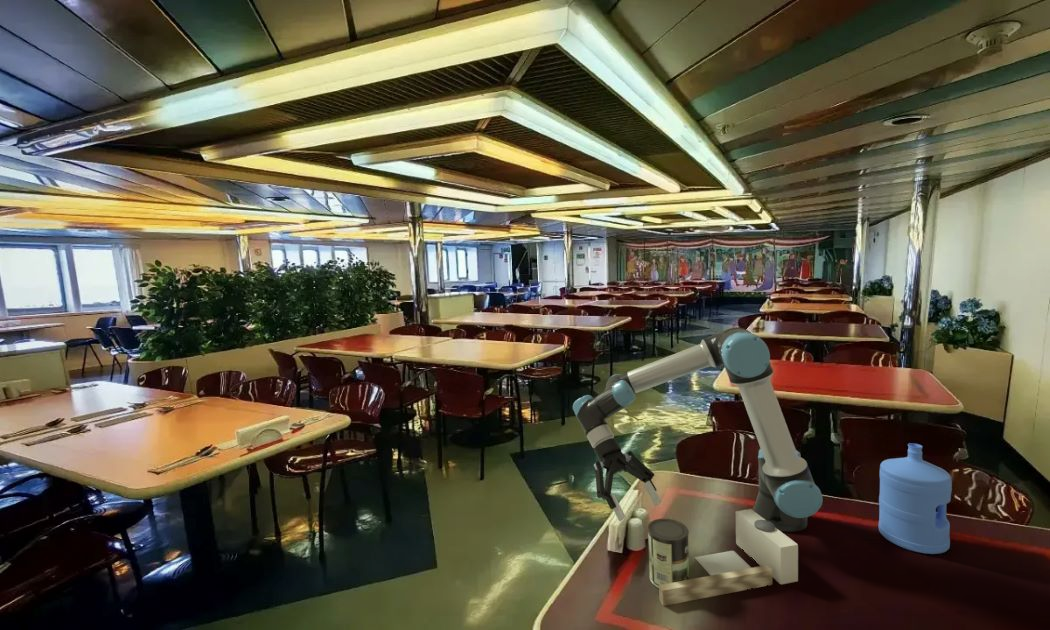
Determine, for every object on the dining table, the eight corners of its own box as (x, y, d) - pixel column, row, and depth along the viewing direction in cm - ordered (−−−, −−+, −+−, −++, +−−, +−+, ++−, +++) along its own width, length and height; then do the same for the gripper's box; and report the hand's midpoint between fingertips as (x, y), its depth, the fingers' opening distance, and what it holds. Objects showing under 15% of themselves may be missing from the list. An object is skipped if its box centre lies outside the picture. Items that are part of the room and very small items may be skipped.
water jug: (889, 549, 126) (891, 453, 124) (871, 520, 141) (872, 433, 138) (961, 560, 120) (965, 459, 118) (934, 528, 135) (937, 437, 132)
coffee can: (686, 567, 124) (685, 519, 122) (692, 594, 114) (691, 541, 112) (647, 565, 126) (646, 516, 124) (650, 590, 116) (648, 538, 114)
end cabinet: (751, 541, 134) (750, 506, 133) (797, 581, 116) (797, 542, 115) (689, 551, 130) (688, 517, 129) (727, 595, 113) (726, 555, 112)
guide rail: (766, 579, 117) (766, 565, 117) (772, 584, 115) (772, 569, 115) (659, 600, 112) (659, 585, 112) (663, 605, 110) (662, 590, 110)
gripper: (629, 439, 146) (665, 503, 135) (566, 459, 134) (600, 530, 123) (640, 428, 141) (679, 493, 130) (575, 447, 129) (612, 520, 117)
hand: (641, 511), depth 126 cm, fingers open, 13 cm apart
